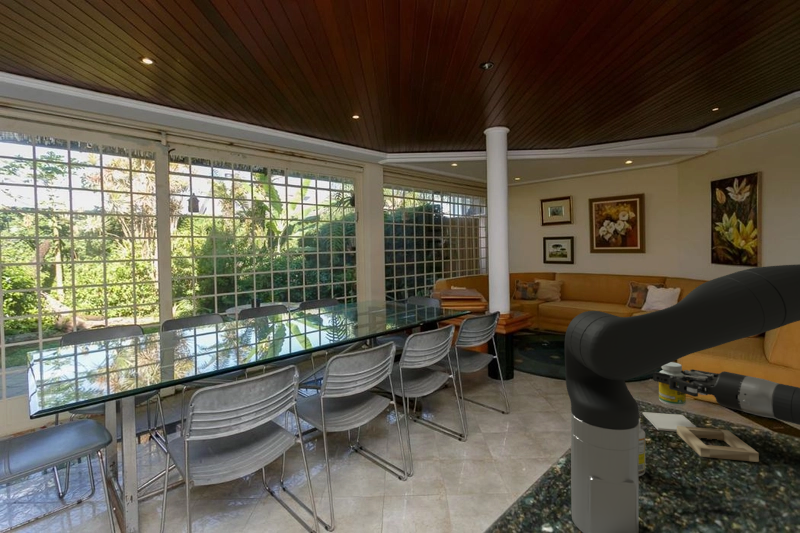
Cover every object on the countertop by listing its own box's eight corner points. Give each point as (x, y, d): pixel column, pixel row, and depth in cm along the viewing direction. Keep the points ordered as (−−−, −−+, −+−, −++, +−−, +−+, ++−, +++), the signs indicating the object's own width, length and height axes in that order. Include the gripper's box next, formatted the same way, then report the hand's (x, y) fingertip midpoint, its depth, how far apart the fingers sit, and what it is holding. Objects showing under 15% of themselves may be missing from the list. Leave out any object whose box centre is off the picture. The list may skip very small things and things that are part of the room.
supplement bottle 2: (664, 396, 95) (664, 359, 94) (689, 403, 90) (689, 364, 90) (654, 401, 92) (654, 363, 91) (680, 408, 87) (679, 368, 87)
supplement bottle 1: (617, 458, 76) (617, 409, 76) (648, 469, 72) (649, 418, 72) (607, 469, 73) (607, 418, 72) (640, 481, 68) (640, 427, 68)
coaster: (701, 433, 86) (701, 431, 86) (657, 430, 88) (657, 427, 88) (682, 416, 94) (682, 414, 94) (642, 413, 97) (642, 412, 97)
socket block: (758, 462, 74) (758, 453, 74) (700, 456, 76) (700, 447, 76) (727, 437, 84) (727, 429, 84) (676, 433, 86) (676, 425, 86)
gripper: (761, 370, 82) (673, 354, 96) (734, 383, 75) (644, 363, 89) (761, 404, 82) (673, 382, 97) (734, 420, 75) (644, 394, 89)
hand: (660, 373), depth 93 cm, fingers closed on supplement bottle 2, 5 cm apart
